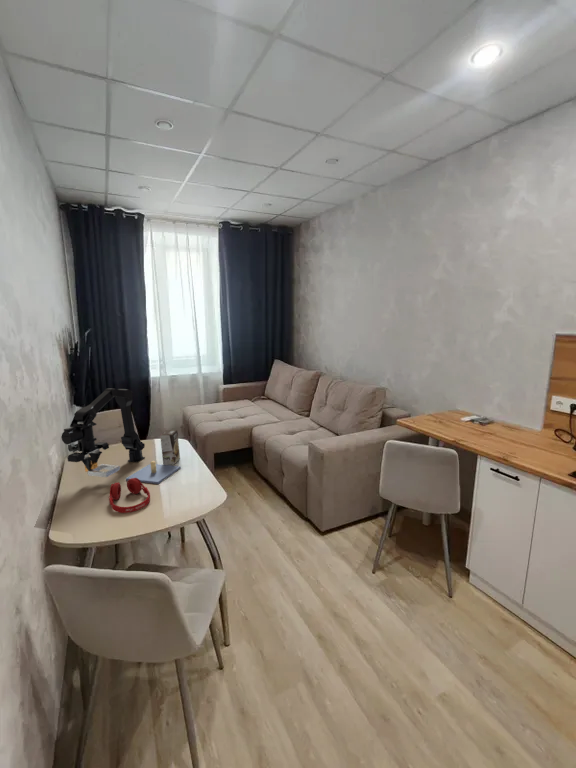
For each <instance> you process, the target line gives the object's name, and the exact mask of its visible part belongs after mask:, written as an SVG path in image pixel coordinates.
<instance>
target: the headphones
mask: <svg viewBox="0 0 576 768" xmlns="http://www.w3.org/2000/svg"><path fill="white" fill-rule="evenodd" d="M109 487H110V489H109V492H108V493H109V495H108V501H109V505H110V507H111V509H112V510H113V511H115V512H117V513H121V514H127V513H132V512H136V511H139V510H141V508H142V509H143V507H144V508H145V507H147V505H148V504H149V503H150V501H151V493H150V491H149V489H148V487H146V486H145V485H144V484H143V482H141V481H140V480H139V479H138V478H131V479H130V480H128V481H127V480H126V487H127V490H128V491H129V493H131V494H132V495H137V494H139V493H141V491H142V492H143V493H144V494H146V496H147V497H146V499H144V500H143V501H142V502H140V503H138V504H136V505H131V506H119V505H117V504H115V503H114V501H116V500H117V501H118V500H119V499H120V498H121V494H122V485H121V483H120V482H114V483H112V484H111V485H110V486H109Z"/></svg>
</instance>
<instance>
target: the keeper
mask: <svg viewBox="0 0 576 768" xmlns="http://www.w3.org/2000/svg"><path fill="white" fill-rule="evenodd" d="M178 469H179V470H180V469H181V465H163V464H161V463H160V464H159V463H156V461H155V460H152V461H150V463H149V464H147V465H146V466H144V467H142V468H141V469H139V470H137V471H136V472H134V473H132V474H130V475H128V477H126V478H125V481H126V482H127V481H128V480H130V479H131V478H138V479H139V480H140V481H141V483H147V484H155V485H156V484H157V485H159V484H161V483H162V482H163V481H165V480H166V479H168V478H169V477H171V476H172V475H173V474H175V473H176V472H177V470H178ZM179 470H178V471H179ZM174 472H175V473H174ZM167 477H168V478H167ZM164 479H165V480H164Z"/></svg>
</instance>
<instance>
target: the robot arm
mask: <svg viewBox="0 0 576 768" xmlns="http://www.w3.org/2000/svg"><path fill="white" fill-rule="evenodd" d="M133 395H134V394H133V391H132V390H131V389H126V388H118V389H116V388H109V387H108V388H105V389H104V391H103V392H102V393H101V394H99V395H98V396H97V397H96V398H95V399H94V400H93V401H91V403H90V404H88V405H86V406H84V407H82V408H80V409H78V410H76V412H75V413H74V415H73V419H71V423H70V425H69V428H68V427H67V428H64V429H63V432H62V433H61V441H62V442H63V443H64V444H65V445H67V449H68V452H72V453H70V454H68V455H67V462H70V463H71V462H72V463H80V462H81V463H83V464H84V467H85V466H86V468H87V469H88V470H90V469H91V462H97V463H98V461H99V459H100V457H101V454H103V451H100V449H102V450H104V451H105V450H107V449H108V450H109V449H110V445H109V443H108V442H106V441H99V442H96V441H97V437H95V434H94V426H97V423H96V422H94V420H95V418H96V417H97V415H98V412H99V411H100V410H101V409H103V407H104V406H105V405H106V404H107V403H109V401H111V400H112V399H113V398H114V400H115V403H116V404H118V406H119V408H120V414H121V419H122V425H123V426H122V427H123V431H124V433H123V435H122V436H121V437H120V438H121V445H122V446H123V447H124V449H125V450H126V451H127V450H128V460H127V462H129V463H130V462H131V463H132V462H133V463H138V462H140V461H143V460H144V459H146V456H143V449H145V445H146V444H145V443H144V442H142V441H141V438H140V436H139V434H138V433H137V431H135V423H134V418H133V412H132V406H131V405H132V403H133V398H134V397H133ZM76 442H77V443H76ZM75 443H76V444H75Z"/></svg>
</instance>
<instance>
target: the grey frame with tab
mask: <svg viewBox="0 0 576 768" xmlns="http://www.w3.org/2000/svg"><path fill="white" fill-rule="evenodd" d="M84 470H85V473H87V476H93V477H98V478H99V477H100V478H107V477H109V476H112V475H114V474H115V473H117V472H119V471H121V468H120V465H118V464H117V465H114V464H106V463H105V464H104V463H101V464H98V461H97V462H91V469H90V470H88V469H87V468H86V466H85V465H84ZM102 470H103V471H102ZM104 470H106V471H104Z"/></svg>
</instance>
